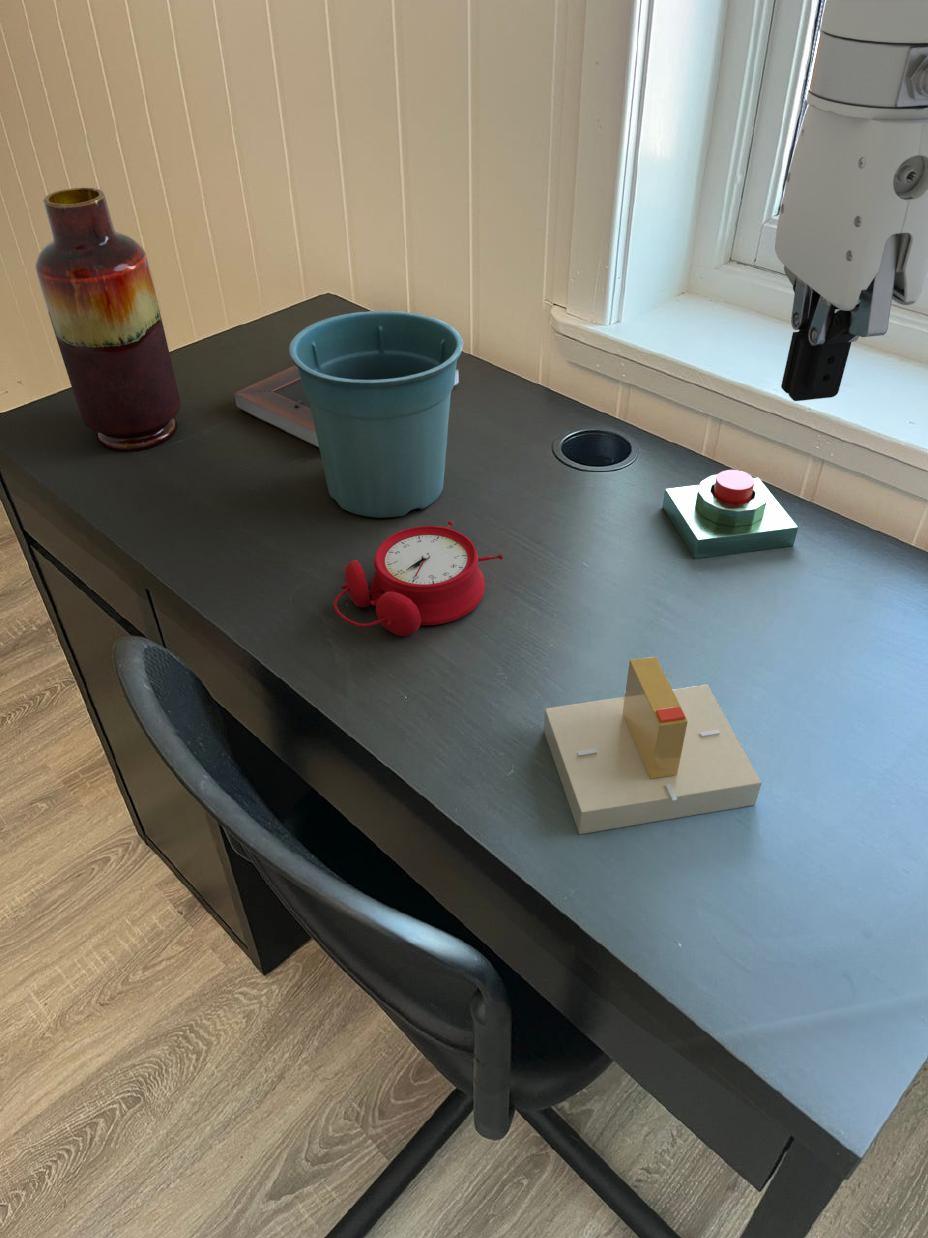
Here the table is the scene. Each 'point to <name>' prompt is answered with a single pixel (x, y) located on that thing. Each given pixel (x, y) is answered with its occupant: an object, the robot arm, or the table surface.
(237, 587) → the table surface
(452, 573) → the alarm clock
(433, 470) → the flower pot
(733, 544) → the button block
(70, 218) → the vase
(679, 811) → the dial base plate
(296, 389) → the picture frame
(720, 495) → the button
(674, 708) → the tan block
